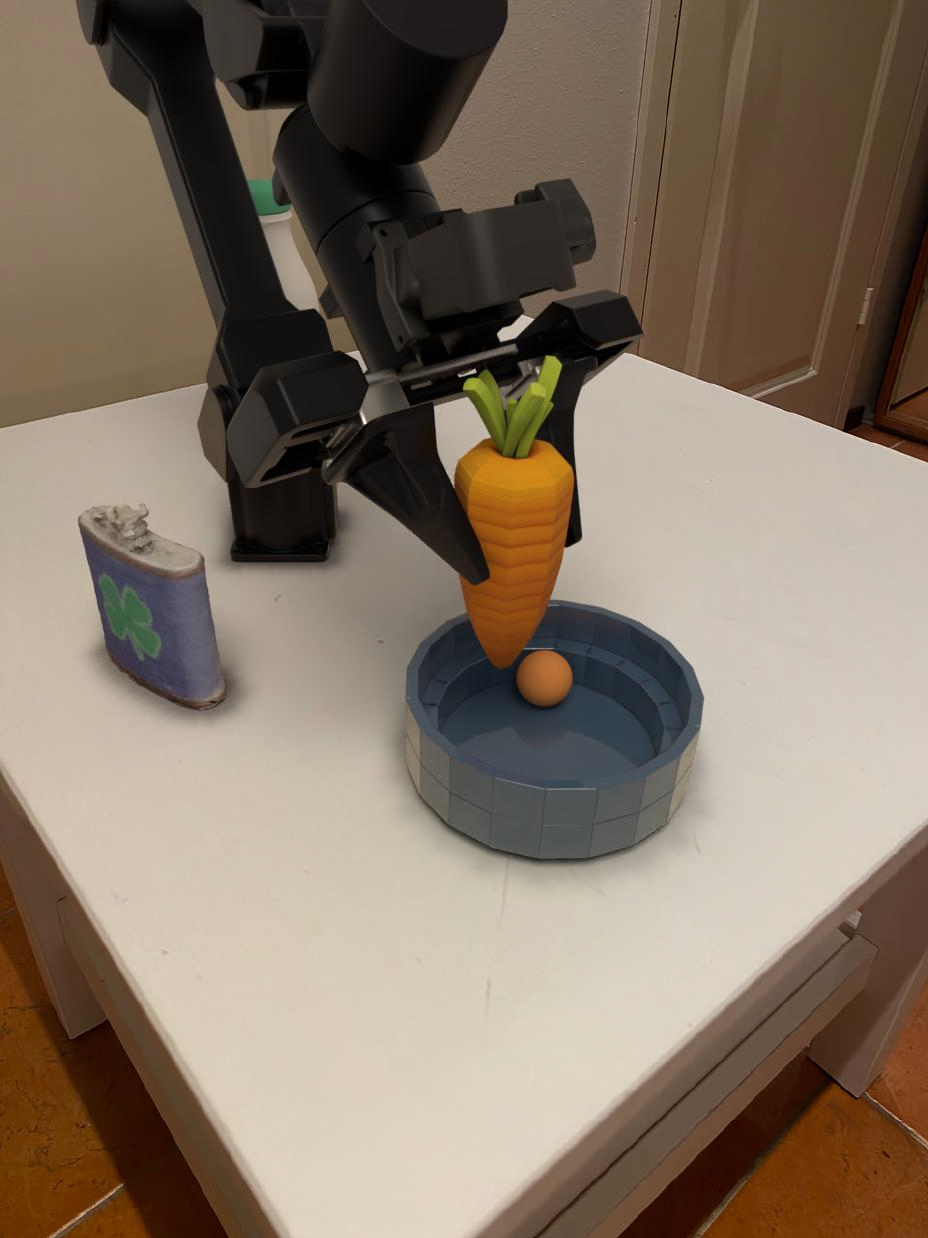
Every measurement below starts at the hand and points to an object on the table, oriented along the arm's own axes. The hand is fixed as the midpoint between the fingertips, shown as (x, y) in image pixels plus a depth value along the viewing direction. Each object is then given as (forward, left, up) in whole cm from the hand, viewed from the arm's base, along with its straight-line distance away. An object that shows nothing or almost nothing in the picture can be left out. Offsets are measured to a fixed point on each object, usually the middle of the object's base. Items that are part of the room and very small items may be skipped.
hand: (529, 562), depth 40 cm
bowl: (+2, +1, -12) cm, 13 cm away
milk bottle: (-16, +38, -13) cm, 43 cm away
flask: (-19, +8, -13) cm, 24 cm away
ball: (+2, +5, -10) cm, 12 cm away
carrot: (-1, +1, -7) cm, 7 cm away
